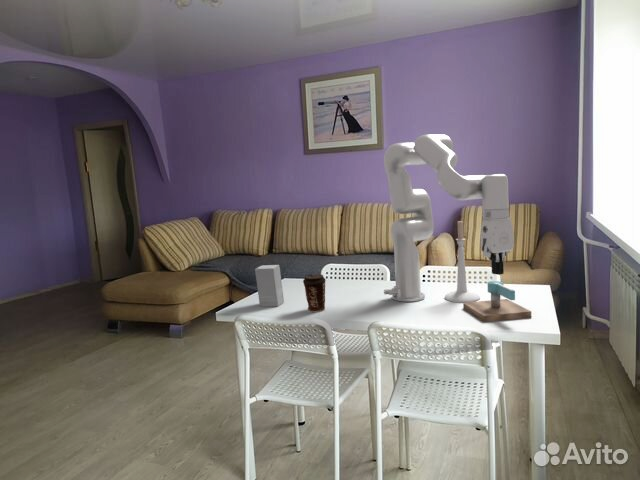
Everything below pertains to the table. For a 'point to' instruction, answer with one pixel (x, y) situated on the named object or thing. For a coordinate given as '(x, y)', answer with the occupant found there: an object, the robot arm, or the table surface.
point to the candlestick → (461, 275)
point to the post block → (496, 309)
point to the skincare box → (269, 285)
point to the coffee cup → (315, 292)
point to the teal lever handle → (501, 290)
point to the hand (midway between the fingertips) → (497, 273)
